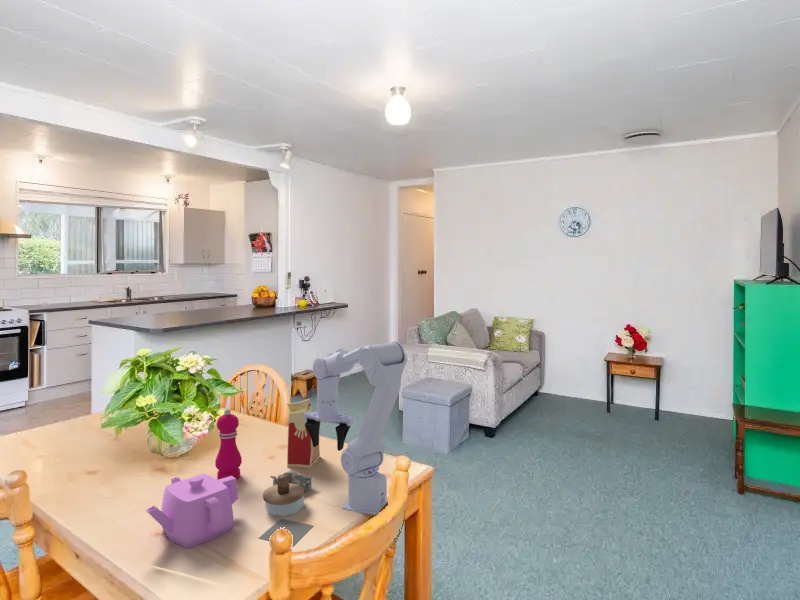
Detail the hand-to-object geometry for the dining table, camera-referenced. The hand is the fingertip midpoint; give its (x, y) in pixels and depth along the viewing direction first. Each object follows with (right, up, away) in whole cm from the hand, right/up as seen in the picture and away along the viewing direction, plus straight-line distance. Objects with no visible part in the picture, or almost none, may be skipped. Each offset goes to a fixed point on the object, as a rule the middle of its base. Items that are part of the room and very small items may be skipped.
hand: (328, 447), depth 138 cm
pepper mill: (-29, -10, +5) cm, 31 cm away
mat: (-6, -12, -25) cm, 28 cm away
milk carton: (-10, -9, +16) cm, 21 cm away
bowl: (-9, -11, -13) cm, 19 cm away
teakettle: (-28, -12, -23) cm, 38 cm away
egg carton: (-9, -11, -2) cm, 15 cm away
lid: (-9, -8, -14) cm, 18 cm away
